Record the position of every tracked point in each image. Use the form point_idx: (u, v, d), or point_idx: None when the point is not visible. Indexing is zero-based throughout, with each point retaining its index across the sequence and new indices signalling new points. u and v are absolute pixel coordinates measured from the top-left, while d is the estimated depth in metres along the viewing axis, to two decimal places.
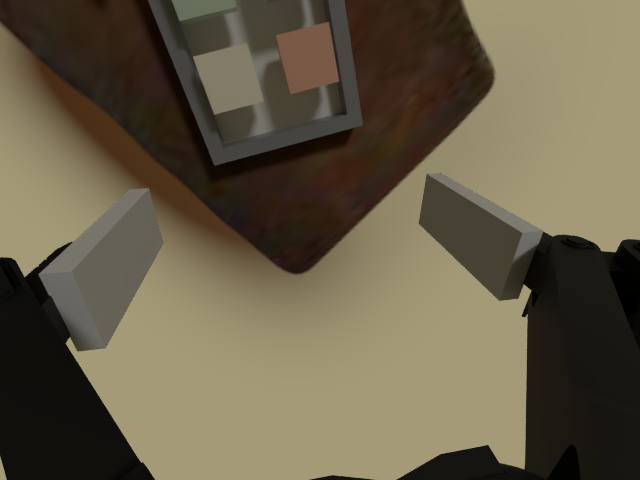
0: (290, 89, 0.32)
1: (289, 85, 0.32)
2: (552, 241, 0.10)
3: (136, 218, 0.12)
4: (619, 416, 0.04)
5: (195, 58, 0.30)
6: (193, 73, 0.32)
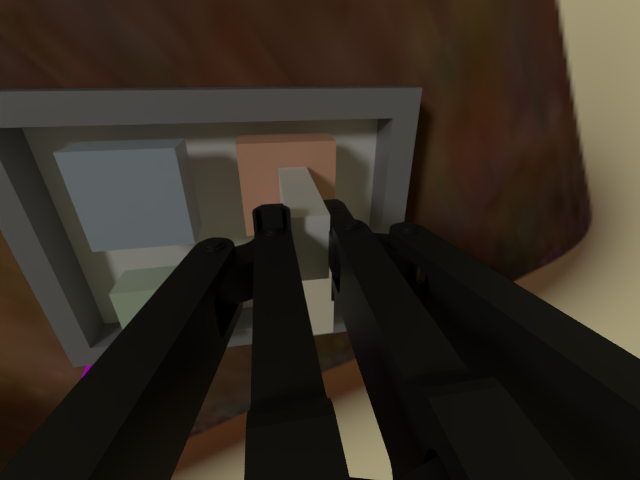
0: None
1: None
2: (334, 229, 0.10)
3: None
4: (454, 400, 0.04)
5: None
6: None
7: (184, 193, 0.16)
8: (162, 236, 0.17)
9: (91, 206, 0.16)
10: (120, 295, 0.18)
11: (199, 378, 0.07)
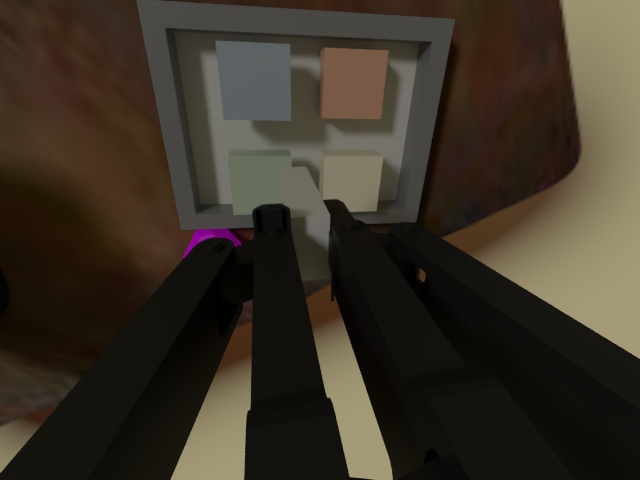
0: (376, 117, 0.28)
1: (372, 117, 0.28)
2: (334, 229, 0.10)
3: None
4: (454, 400, 0.04)
5: None
6: None
7: (290, 80, 0.24)
8: (270, 112, 0.25)
9: (230, 83, 0.23)
10: (234, 158, 0.26)
11: (199, 378, 0.07)
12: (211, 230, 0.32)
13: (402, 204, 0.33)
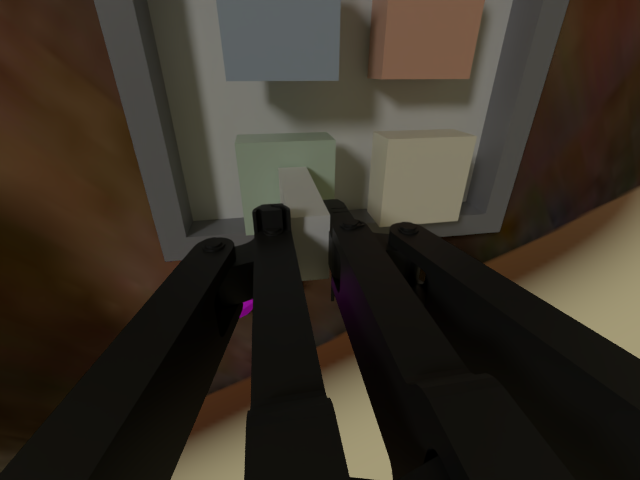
0: (462, 76, 0.18)
1: (456, 76, 0.18)
2: (334, 229, 0.10)
3: None
4: (454, 401, 0.04)
5: (382, 224, 0.19)
6: None
7: (339, 6, 0.14)
8: (305, 66, 0.15)
9: (236, 13, 0.13)
10: (246, 146, 0.16)
11: (198, 378, 0.07)
12: None
13: (481, 207, 0.23)
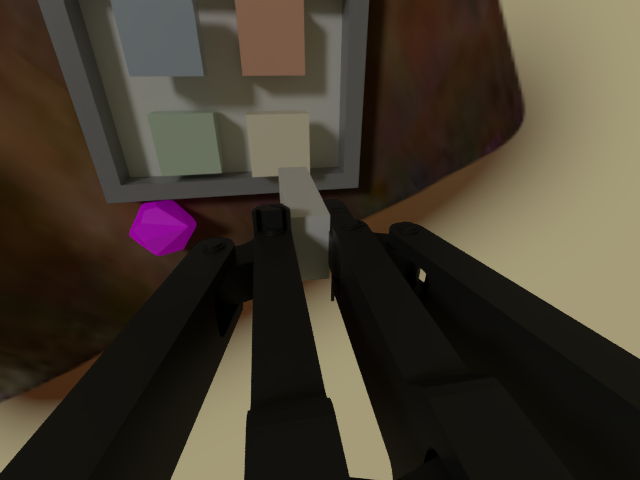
0: (300, 73, 0.27)
1: (295, 73, 0.27)
2: (333, 229, 0.11)
3: None
4: (453, 400, 0.04)
5: (254, 175, 0.28)
6: (266, 178, 0.31)
7: (196, 30, 0.23)
8: (180, 67, 0.23)
9: (131, 35, 0.22)
10: (154, 116, 0.26)
11: (199, 378, 0.07)
12: (157, 204, 0.31)
13: (342, 169, 0.32)
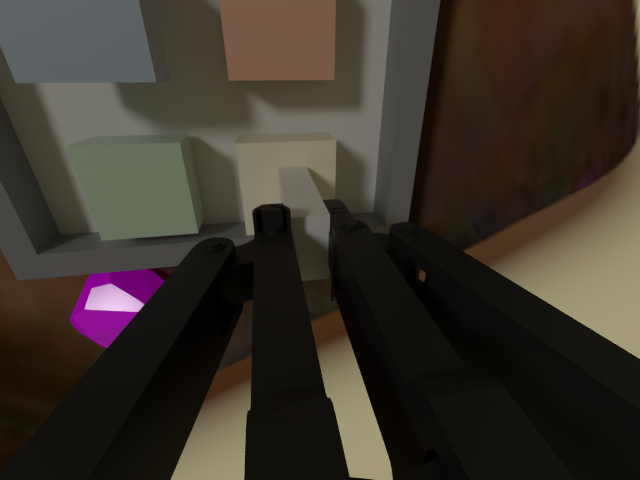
0: (325, 77, 0.16)
1: (318, 77, 0.16)
2: (333, 229, 0.11)
3: None
4: (453, 401, 0.04)
5: (249, 232, 0.18)
6: None
7: None
8: (111, 65, 0.13)
9: (7, 4, 0.11)
10: (80, 149, 0.15)
11: (199, 378, 0.07)
12: (112, 276, 0.20)
13: (382, 219, 0.22)
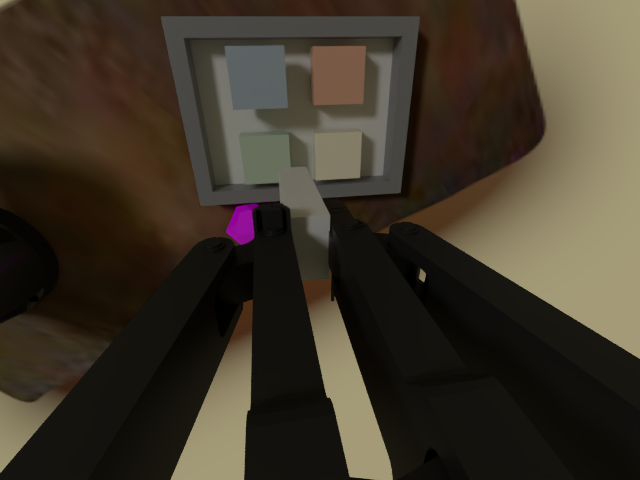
0: (359, 102, 0.33)
1: (355, 102, 0.33)
2: (334, 229, 0.10)
3: None
4: (454, 401, 0.04)
5: (317, 178, 0.36)
6: (325, 185, 0.37)
7: (285, 74, 0.29)
8: (271, 101, 0.30)
9: (237, 79, 0.29)
10: (244, 138, 0.33)
11: (199, 378, 0.07)
12: (248, 207, 0.38)
13: (387, 177, 0.39)
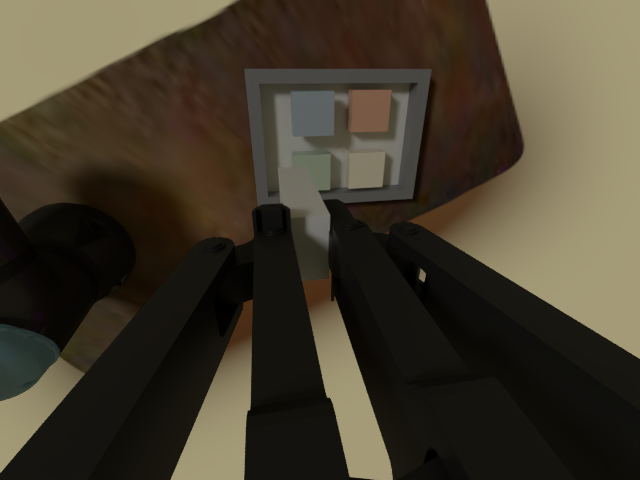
0: (384, 130, 0.44)
1: (382, 130, 0.44)
2: (334, 229, 0.10)
3: None
4: (453, 401, 0.04)
5: (349, 187, 0.47)
6: (355, 192, 0.48)
7: None
8: (321, 131, 0.40)
9: (299, 115, 0.39)
10: (297, 156, 0.43)
11: (198, 378, 0.07)
12: None
13: (402, 186, 0.49)
